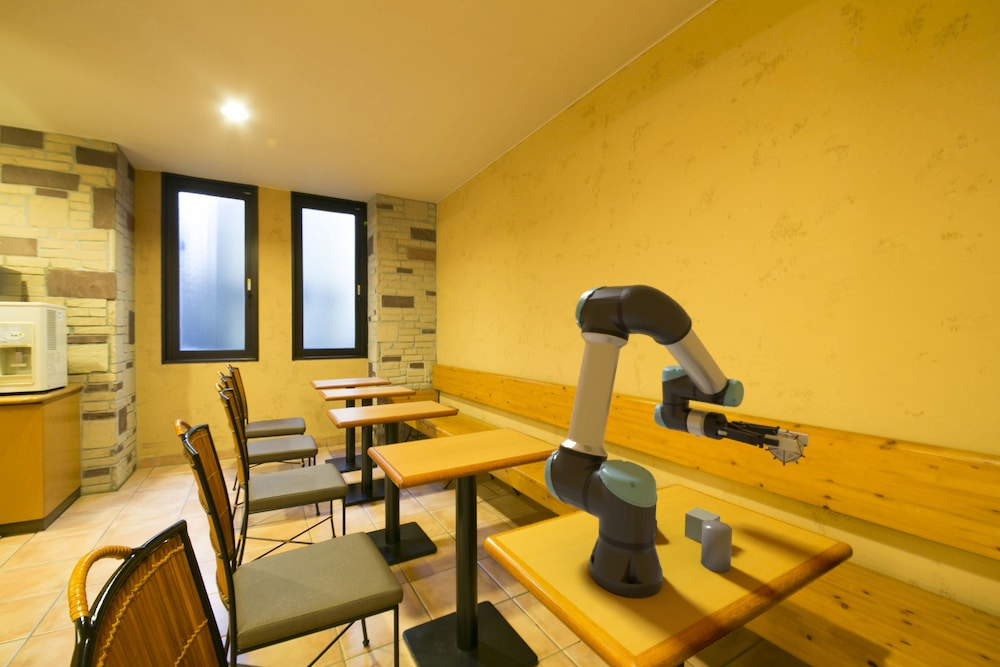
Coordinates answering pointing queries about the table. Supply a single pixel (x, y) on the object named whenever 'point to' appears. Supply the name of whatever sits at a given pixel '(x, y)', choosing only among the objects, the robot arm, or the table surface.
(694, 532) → the olive block
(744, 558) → the table surface
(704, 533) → the gray cylinder
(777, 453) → the game die
